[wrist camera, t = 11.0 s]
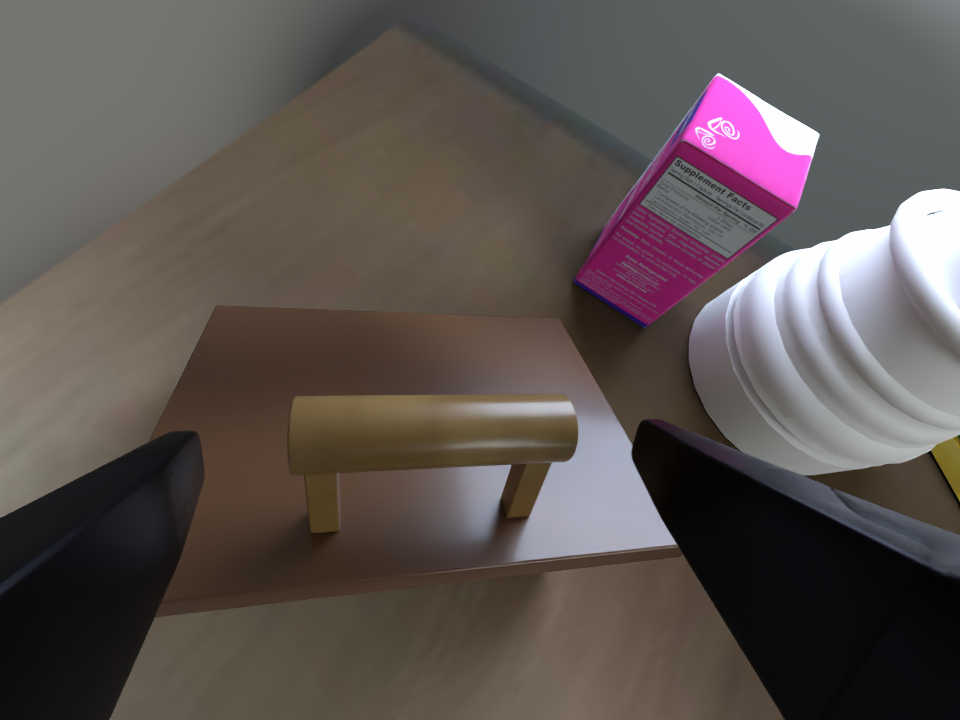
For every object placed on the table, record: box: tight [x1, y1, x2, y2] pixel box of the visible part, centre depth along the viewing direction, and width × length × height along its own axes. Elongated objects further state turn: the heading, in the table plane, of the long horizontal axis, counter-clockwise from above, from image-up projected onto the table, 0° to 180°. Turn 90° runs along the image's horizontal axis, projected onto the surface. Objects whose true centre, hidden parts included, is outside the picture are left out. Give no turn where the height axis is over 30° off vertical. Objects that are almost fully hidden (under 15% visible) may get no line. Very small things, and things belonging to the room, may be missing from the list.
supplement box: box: [573, 74, 819, 329], centre depth 24 cm, size 6×6×12 cm
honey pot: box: [689, 189, 960, 475], centre depth 21 cm, size 13×13×18 cm
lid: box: [149, 306, 682, 617], centre depth 14 cm, size 11×15×5 cm
